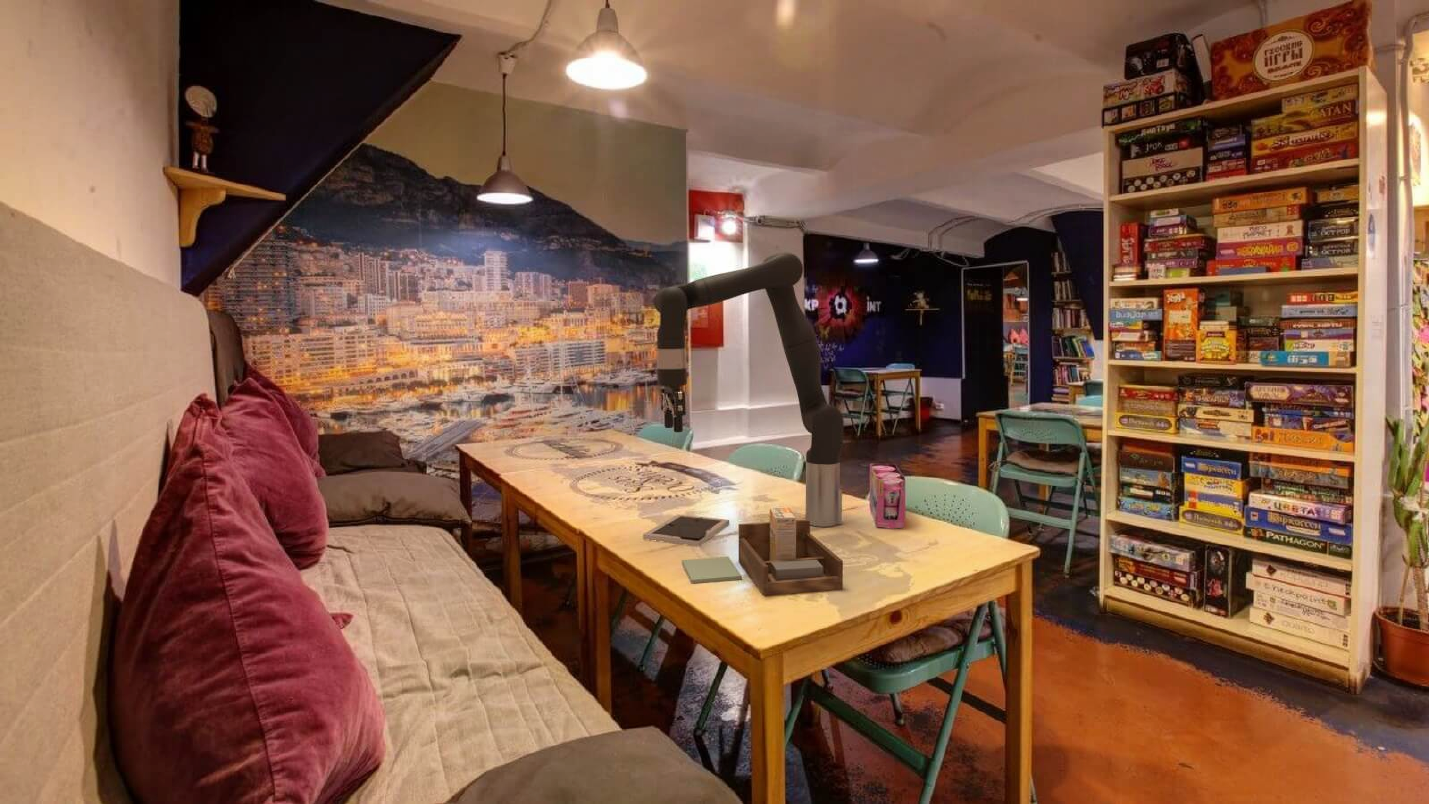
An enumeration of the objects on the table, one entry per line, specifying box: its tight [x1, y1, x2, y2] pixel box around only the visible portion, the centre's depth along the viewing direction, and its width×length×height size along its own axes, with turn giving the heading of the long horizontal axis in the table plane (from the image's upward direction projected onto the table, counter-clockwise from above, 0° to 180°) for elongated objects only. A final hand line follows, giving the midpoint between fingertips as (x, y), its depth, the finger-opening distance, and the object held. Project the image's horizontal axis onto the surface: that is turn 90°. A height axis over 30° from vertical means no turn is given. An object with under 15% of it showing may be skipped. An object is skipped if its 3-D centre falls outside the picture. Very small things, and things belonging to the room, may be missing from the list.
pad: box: [681, 556, 743, 584], centre depth 154 cm, size 11×13×1 cm
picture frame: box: [642, 513, 730, 547], centre depth 184 cm, size 16×3×21 cm
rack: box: [738, 519, 844, 597], centre depth 151 cm, size 17×21×9 cm
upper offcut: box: [771, 560, 823, 581], centre depth 145 cm, size 10×5×2 cm, turn 99°
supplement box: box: [769, 507, 797, 561], centre depth 154 cm, size 8×5×13 cm, turn 5°
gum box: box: [869, 463, 906, 529], centre depth 195 cm, size 24×8×14 cm, turn 172°
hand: (673, 429), depth 176 cm, fingers open, 8 cm apart
